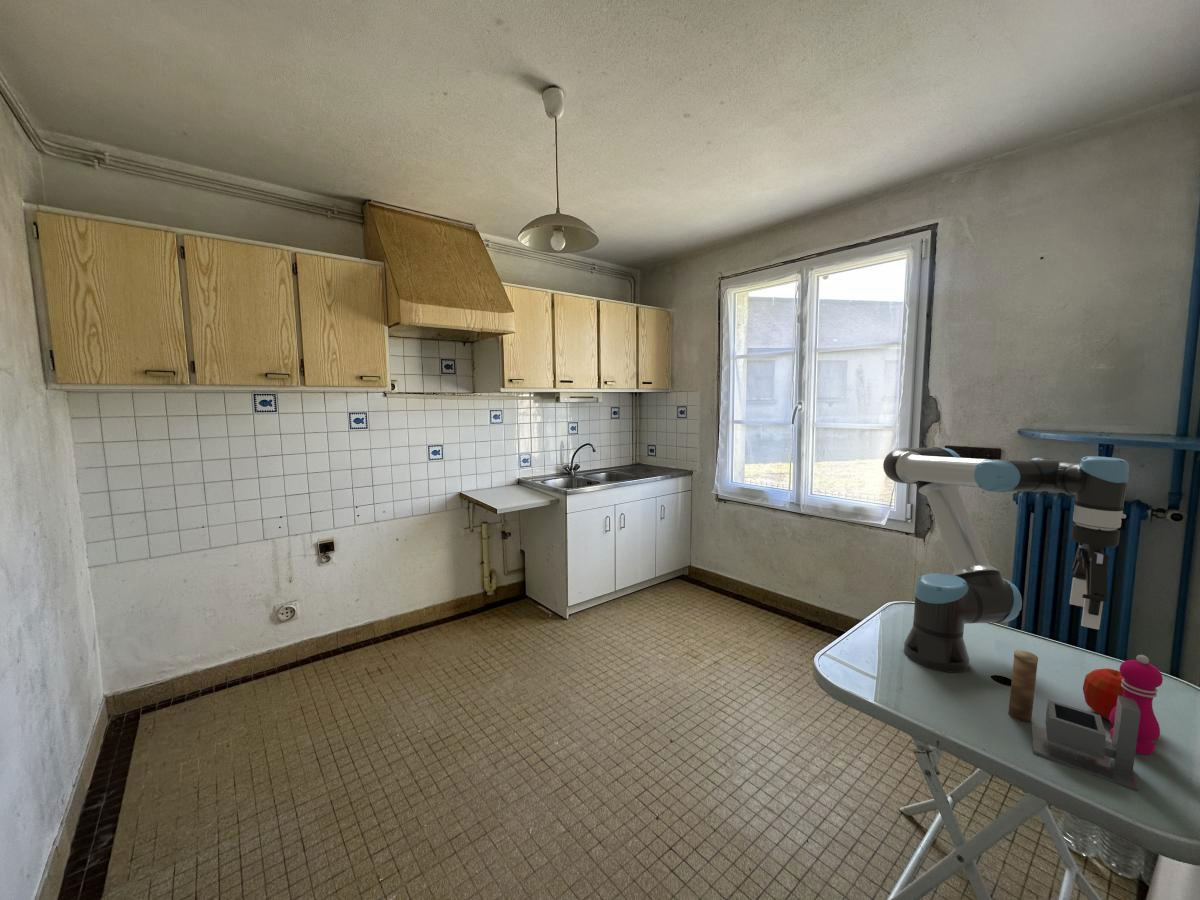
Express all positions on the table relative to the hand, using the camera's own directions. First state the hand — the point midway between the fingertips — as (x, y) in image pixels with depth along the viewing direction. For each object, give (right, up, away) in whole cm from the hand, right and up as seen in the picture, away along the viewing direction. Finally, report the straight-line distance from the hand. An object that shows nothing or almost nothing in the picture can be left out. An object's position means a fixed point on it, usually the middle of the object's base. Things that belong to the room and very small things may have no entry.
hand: (1083, 615), depth 110 cm
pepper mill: (+2, -25, -8) cm, 26 cm away
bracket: (-12, -25, -11) cm, 30 cm away
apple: (+8, -24, +1) cm, 25 cm away
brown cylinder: (-14, -24, +1) cm, 27 cm away
